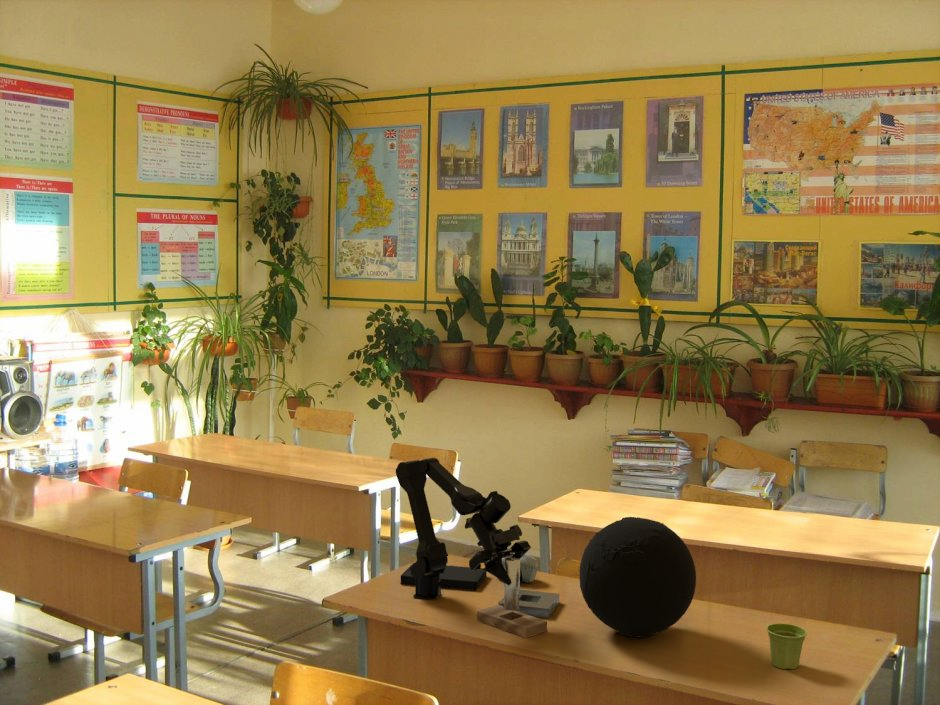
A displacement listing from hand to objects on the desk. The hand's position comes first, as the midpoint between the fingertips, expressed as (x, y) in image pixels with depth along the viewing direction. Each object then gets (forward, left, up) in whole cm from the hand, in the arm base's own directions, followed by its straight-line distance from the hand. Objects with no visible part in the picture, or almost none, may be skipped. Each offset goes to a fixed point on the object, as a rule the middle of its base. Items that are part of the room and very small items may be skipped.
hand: (515, 582), depth 268 cm
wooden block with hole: (-1, +1, -12) cm, 12 cm away
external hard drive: (-30, +32, -12) cm, 46 cm away
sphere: (+31, +6, -12) cm, 33 cm away
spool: (-10, +41, -12) cm, 44 cm away
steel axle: (-1, +1, -7) cm, 7 cm away
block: (0, +17, -12) cm, 20 cm away
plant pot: (+68, -4, -12) cm, 69 cm away
